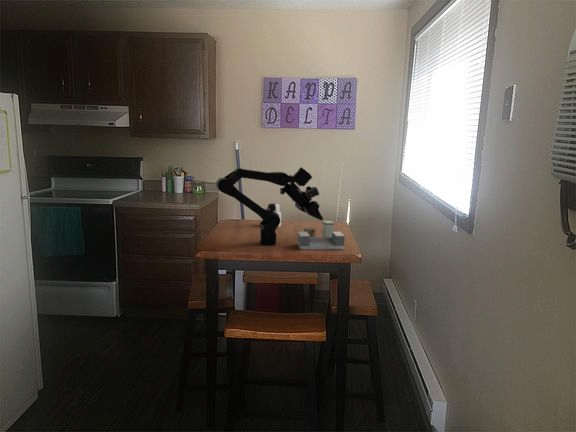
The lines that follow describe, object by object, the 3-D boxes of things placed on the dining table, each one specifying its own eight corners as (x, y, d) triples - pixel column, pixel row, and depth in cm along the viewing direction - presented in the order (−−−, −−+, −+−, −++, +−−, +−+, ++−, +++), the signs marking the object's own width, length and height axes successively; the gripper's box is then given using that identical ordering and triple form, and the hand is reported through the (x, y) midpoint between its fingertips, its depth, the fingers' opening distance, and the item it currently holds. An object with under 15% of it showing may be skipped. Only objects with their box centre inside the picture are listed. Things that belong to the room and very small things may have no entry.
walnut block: (307, 238, 208) (308, 229, 207) (303, 236, 211) (303, 228, 210) (315, 237, 209) (315, 229, 209) (310, 235, 213) (311, 227, 212)
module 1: (300, 245, 186) (300, 235, 185) (297, 241, 194) (297, 231, 193) (309, 245, 186) (309, 235, 186) (306, 241, 194) (306, 231, 194)
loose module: (325, 242, 200) (325, 222, 198) (321, 239, 204) (322, 220, 203) (333, 241, 201) (334, 222, 200) (329, 239, 206) (330, 220, 204)
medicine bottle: (265, 227, 230) (265, 204, 228) (267, 224, 237) (268, 202, 235) (279, 228, 229) (279, 205, 227) (281, 225, 236) (281, 203, 234)
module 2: (335, 245, 188) (336, 235, 187) (331, 241, 196) (332, 231, 195) (344, 245, 188) (344, 235, 188) (339, 241, 196) (340, 231, 195)
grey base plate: (300, 249, 186) (300, 242, 185) (296, 243, 196) (297, 237, 195) (344, 249, 188) (344, 242, 188) (338, 243, 198) (339, 237, 197)
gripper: (315, 183, 186) (338, 208, 191) (302, 179, 204) (323, 202, 209) (297, 202, 186) (321, 226, 191) (285, 196, 203) (307, 219, 208)
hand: (318, 217), depth 200 cm, fingers open, 9 cm apart
